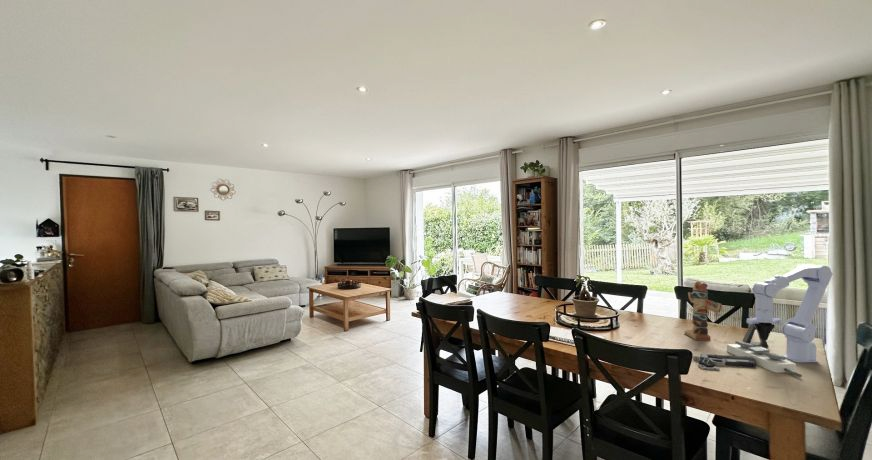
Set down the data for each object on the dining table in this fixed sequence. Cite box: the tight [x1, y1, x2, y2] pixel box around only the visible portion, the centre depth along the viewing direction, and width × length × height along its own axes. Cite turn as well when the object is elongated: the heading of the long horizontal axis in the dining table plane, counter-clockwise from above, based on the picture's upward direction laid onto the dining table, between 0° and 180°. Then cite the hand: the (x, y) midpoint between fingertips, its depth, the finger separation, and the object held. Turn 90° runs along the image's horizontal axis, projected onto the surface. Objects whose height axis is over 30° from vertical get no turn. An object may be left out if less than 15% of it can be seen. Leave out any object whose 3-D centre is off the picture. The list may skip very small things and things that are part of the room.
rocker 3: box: [763, 352, 786, 360], centre depth 154 cm, size 6×4×1 cm, turn 92°
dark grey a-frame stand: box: [742, 324, 769, 348], centre depth 183 cm, size 9×6×12 cm, turn 59°
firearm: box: [692, 352, 757, 371], centre depth 158 cm, size 3×24×15 cm
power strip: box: [726, 343, 802, 378], centre depth 159 cm, size 9×30×4 cm, turn 1°
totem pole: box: [684, 280, 723, 342], centre depth 194 cm, size 29×7×30 cm, turn 172°
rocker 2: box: [748, 346, 771, 353], centre depth 161 cm, size 6×4×1 cm, turn 91°
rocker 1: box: [734, 340, 756, 348], centre depth 168 cm, size 6×4×1 cm, turn 92°
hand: (763, 339), depth 161 cm, fingers closed
